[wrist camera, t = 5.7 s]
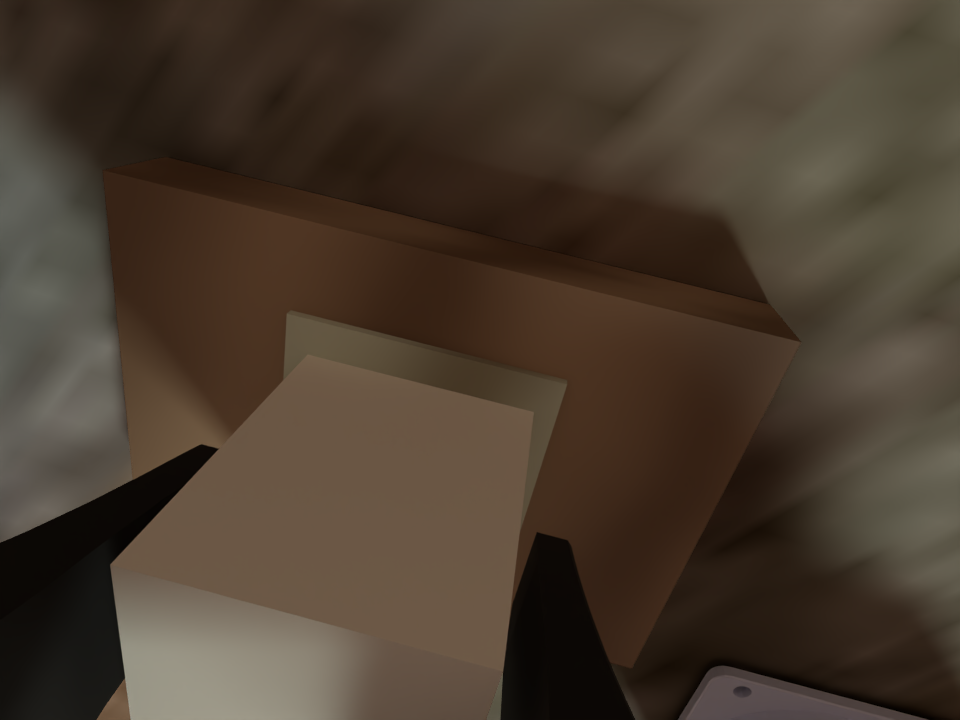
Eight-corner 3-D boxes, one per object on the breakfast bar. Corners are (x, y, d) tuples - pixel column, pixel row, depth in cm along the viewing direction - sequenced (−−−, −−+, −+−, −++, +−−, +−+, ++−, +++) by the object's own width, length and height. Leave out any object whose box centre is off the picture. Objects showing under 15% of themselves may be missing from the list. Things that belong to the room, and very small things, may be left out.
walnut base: (770, 304, 13) (804, 346, 11) (626, 607, 17) (632, 675, 15) (165, 156, 13) (94, 171, 11) (181, 489, 18) (133, 540, 16)
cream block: (534, 411, 12) (502, 671, 7) (485, 575, 15) (434, 863, 9) (307, 354, 12) (110, 565, 7) (295, 525, 15) (138, 779, 10)
